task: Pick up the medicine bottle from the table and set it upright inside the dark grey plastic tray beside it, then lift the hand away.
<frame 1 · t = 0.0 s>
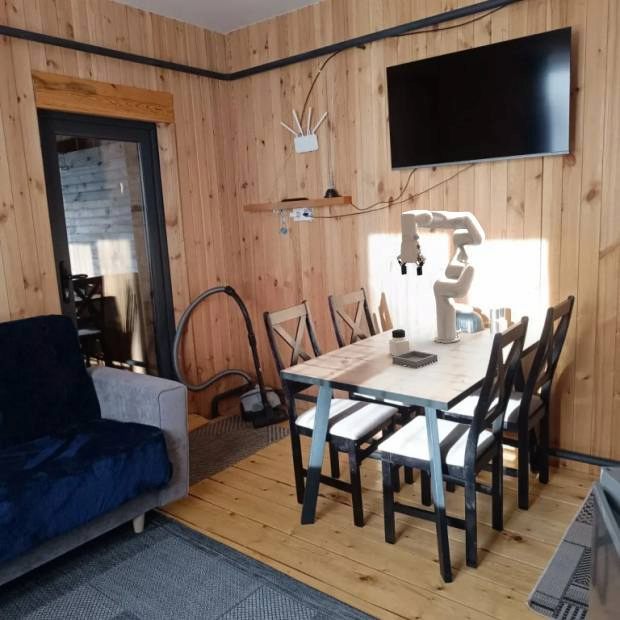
hand: (411, 274, 276), 37 cm above the table, tool pointing down, fingers open, 9 cm apart
medicine bottle: (399, 354, 277), on the table
tray: (415, 362, 262), on the table
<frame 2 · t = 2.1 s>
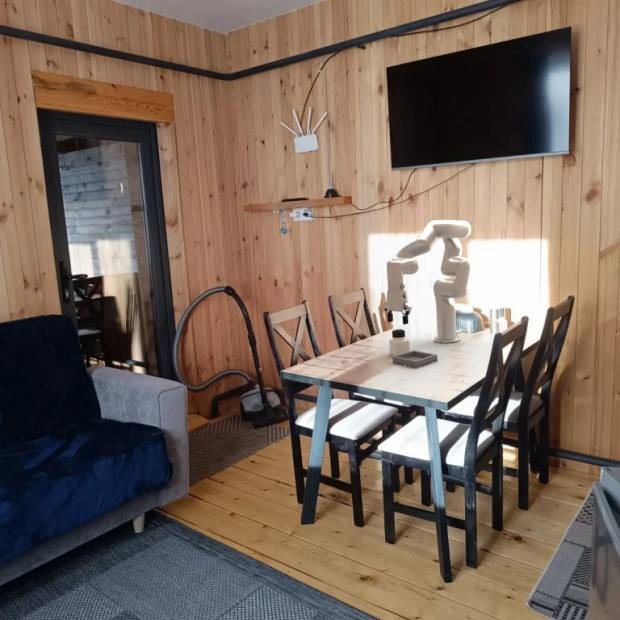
hand: (397, 322, 275), 15 cm above the table, tool pointing down, fingers open, 9 cm apart
nothing on the table moved.
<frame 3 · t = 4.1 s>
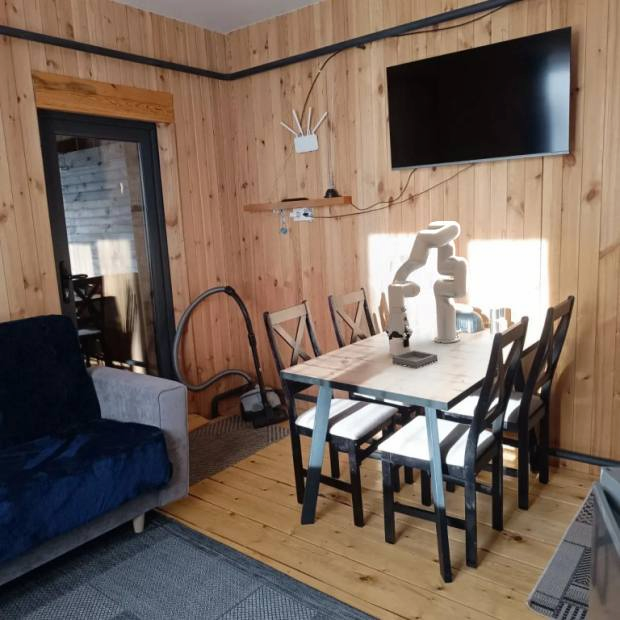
hand: (399, 345, 276), 4 cm above the table, tool pointing down, fingers closed on medicine bottle, 9 cm apart
medicine bottle: (399, 354, 277), on the table, touching gripper
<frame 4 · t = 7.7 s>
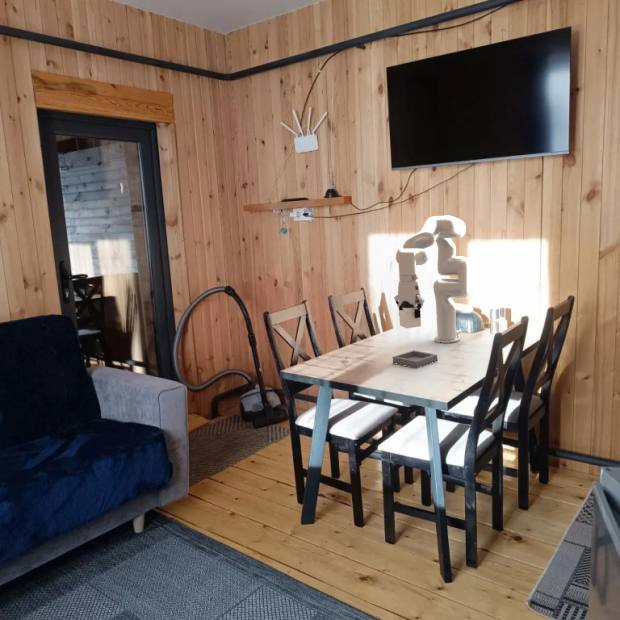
hand: (409, 316, 261), 20 cm above the table, tool pointing down, fingers closed on medicine bottle, 8 cm apart
medicine bottle: (410, 326, 262), point 16 cm above the table, touching gripper
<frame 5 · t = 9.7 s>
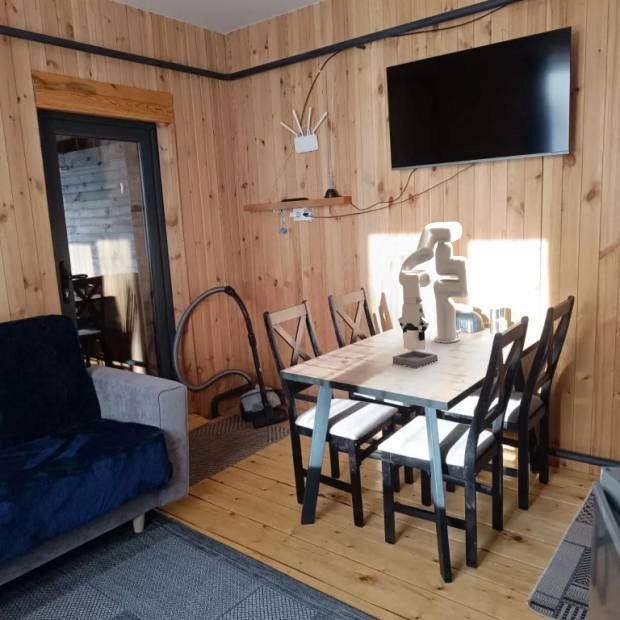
hand: (413, 338, 260), 11 cm above the table, tool pointing down, fingers closed on medicine bottle, 8 cm apart
medicine bottle: (414, 348, 261), point 6 cm above the table, touching gripper
when the fingers open (6 cm above the table, at t = 11.3 s): medicine bottle stays where it is, resting on tray.
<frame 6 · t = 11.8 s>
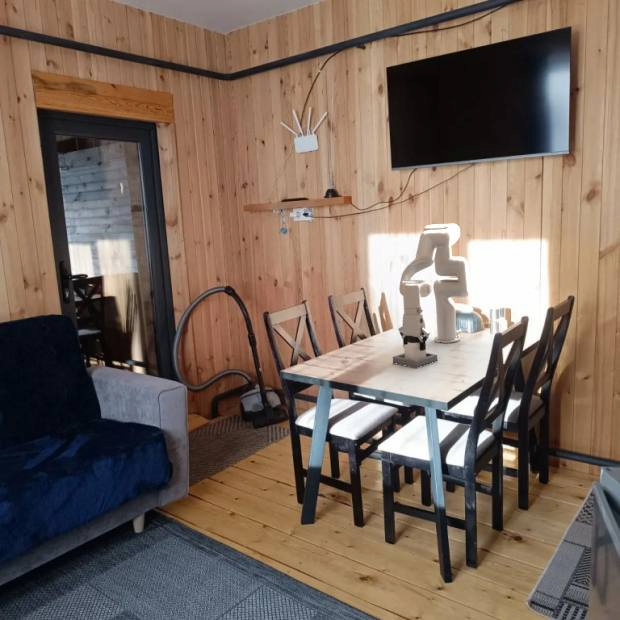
hand: (414, 348, 261), 6 cm above the table, tool pointing down, fingers open, 9 cm apart
medicine bottle: (415, 360, 262), point 1 cm above the table, touching tray
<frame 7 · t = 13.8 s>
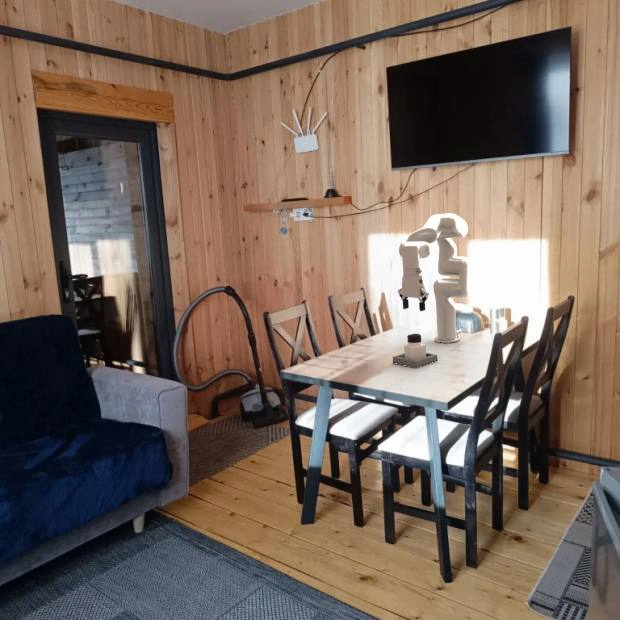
hand: (414, 309, 262), 23 cm above the table, tool pointing down, fingers open, 9 cm apart
nothing on the table moved.
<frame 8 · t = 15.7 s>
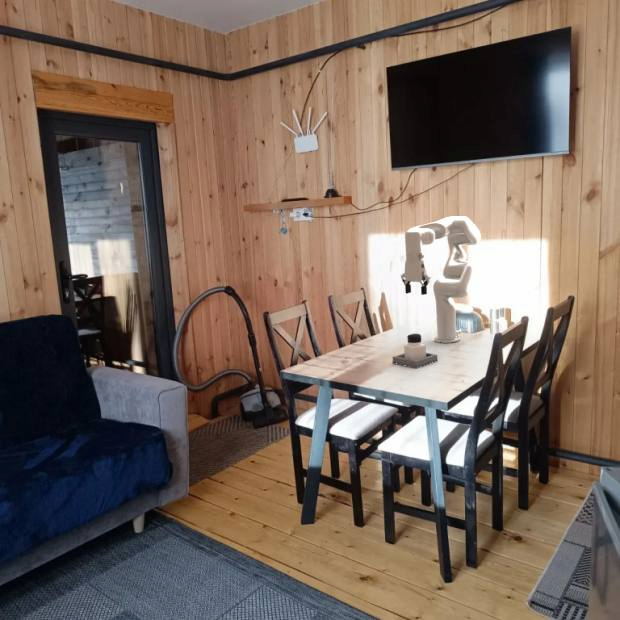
hand: (416, 293, 273), 28 cm above the table, tool pointing down, fingers open, 9 cm apart
nothing on the table moved.
at the end: medicine bottle 0.2 cm off-centre on the tray, point 0.6 cm above the tray's base; medicine bottle tilted 0°; the gripper is holding nothing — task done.
